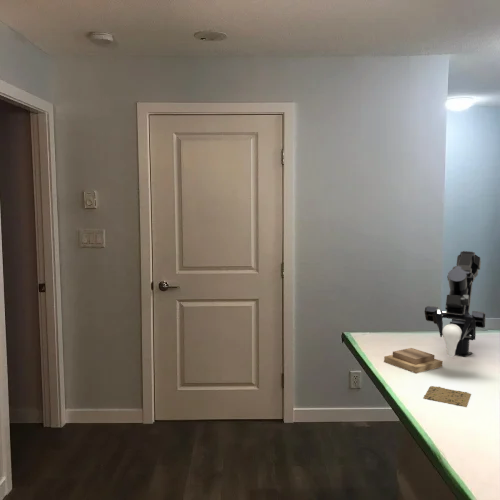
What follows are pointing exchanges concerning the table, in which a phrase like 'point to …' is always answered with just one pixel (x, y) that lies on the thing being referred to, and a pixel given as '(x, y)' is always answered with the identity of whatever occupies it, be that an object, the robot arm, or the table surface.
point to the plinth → (411, 366)
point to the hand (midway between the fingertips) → (451, 338)
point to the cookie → (447, 396)
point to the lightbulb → (451, 337)
